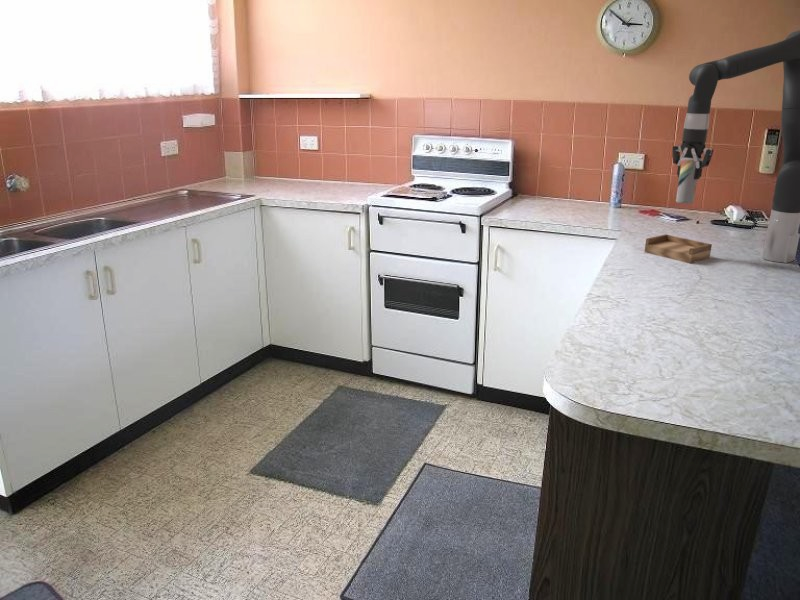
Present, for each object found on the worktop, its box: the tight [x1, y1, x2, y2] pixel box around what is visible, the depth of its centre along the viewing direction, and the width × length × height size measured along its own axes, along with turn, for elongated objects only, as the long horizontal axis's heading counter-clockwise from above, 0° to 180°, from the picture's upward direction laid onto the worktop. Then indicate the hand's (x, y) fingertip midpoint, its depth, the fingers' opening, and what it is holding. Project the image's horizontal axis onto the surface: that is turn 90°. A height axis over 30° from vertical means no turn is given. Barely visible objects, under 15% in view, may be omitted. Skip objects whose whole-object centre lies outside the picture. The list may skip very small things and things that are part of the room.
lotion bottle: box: [675, 144, 699, 205], centre depth 228 cm, size 6×6×20 cm
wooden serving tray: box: [644, 234, 713, 264], centre depth 236 cm, size 18×12×5 cm, turn 36°
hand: (688, 177), depth 228 cm, fingers closed on lotion bottle, 5 cm apart
